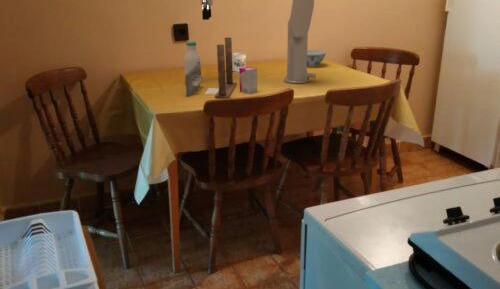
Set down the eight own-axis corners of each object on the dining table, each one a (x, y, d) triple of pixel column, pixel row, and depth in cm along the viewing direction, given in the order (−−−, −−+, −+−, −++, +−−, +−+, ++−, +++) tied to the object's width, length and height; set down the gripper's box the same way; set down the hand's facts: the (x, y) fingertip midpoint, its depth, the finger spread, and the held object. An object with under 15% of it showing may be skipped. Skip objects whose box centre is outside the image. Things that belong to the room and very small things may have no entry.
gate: (236, 84, 213) (235, 37, 205) (228, 98, 190) (226, 45, 182) (224, 84, 213) (222, 37, 205) (214, 98, 191) (212, 45, 183)
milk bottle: (194, 85, 215) (192, 43, 208) (182, 83, 219) (179, 42, 211) (204, 82, 221) (202, 41, 214) (192, 80, 225) (189, 40, 218)
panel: (205, 86, 213) (204, 65, 209) (195, 98, 194) (194, 75, 191) (196, 86, 213) (195, 65, 209) (186, 98, 195) (185, 75, 191)
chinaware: (294, 64, 260) (295, 50, 258) (319, 62, 264) (319, 49, 261) (303, 69, 247) (304, 55, 244) (329, 67, 250) (329, 53, 247)
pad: (230, 90, 207) (230, 88, 206) (226, 95, 197) (226, 94, 197) (208, 89, 208) (208, 87, 207) (204, 95, 199) (204, 93, 198)
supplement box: (257, 93, 201) (257, 67, 197) (248, 95, 197) (248, 69, 193) (248, 90, 205) (247, 65, 201) (239, 93, 201) (238, 68, 197)
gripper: (211, -20, 199) (213, 20, 206) (214, -21, 215) (216, 16, 222) (194, -20, 199) (197, 20, 206) (199, -21, 215) (201, 16, 222)
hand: (207, 18), depth 214 cm, fingers open, 9 cm apart
